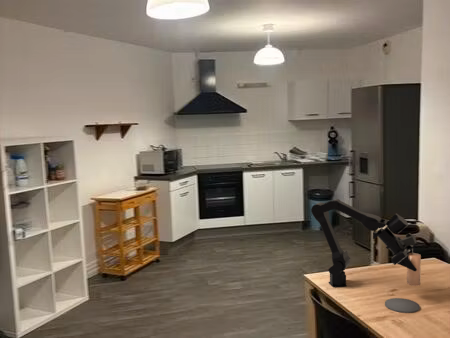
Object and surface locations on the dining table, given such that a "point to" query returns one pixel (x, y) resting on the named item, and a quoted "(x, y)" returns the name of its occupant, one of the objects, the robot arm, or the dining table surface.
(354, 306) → the dining table surface
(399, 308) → the mat
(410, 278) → the tan rounded cylinder
